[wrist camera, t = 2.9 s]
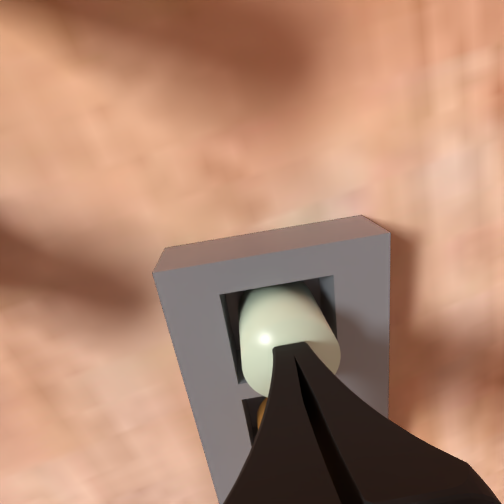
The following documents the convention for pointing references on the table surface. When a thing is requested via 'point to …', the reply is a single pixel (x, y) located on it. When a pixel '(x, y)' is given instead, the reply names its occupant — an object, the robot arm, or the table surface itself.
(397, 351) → the table surface
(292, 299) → the pale green rounded blob
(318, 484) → the robot arm
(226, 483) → the grey compartment tray
